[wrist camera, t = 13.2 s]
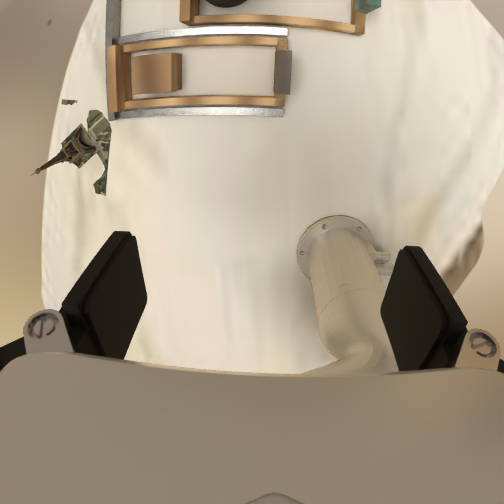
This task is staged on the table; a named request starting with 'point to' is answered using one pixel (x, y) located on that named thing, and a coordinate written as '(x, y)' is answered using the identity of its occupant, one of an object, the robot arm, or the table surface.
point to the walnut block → (157, 73)
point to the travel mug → (225, 2)
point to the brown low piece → (281, 18)
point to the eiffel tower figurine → (86, 145)
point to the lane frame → (114, 36)
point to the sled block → (123, 95)
